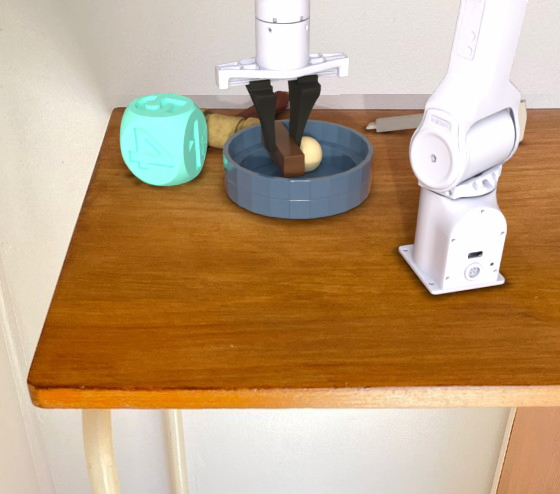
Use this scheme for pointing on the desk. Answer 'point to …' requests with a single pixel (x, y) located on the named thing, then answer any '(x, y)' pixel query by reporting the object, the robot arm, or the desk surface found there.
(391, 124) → the caliper
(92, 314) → the desk surface
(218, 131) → the gavel
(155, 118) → the decorative dice
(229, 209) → the desk surface
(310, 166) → the dough ball
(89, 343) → the desk surface
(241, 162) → the bowl
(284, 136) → the rectangular block
